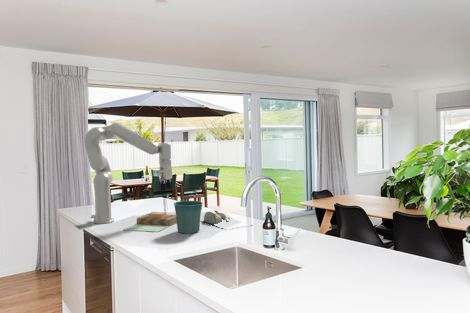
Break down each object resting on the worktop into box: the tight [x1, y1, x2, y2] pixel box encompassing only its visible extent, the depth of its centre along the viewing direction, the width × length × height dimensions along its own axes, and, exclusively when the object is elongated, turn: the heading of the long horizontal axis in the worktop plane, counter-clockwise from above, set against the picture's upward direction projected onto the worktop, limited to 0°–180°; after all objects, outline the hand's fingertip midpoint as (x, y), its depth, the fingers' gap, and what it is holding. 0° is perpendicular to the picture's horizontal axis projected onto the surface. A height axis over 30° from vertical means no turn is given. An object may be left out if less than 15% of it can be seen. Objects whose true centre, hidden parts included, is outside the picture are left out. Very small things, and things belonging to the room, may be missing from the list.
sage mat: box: [123, 223, 170, 233], centre depth 223 cm, size 22×14×1 cm, turn 74°
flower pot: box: [173, 200, 204, 235], centre depth 214 cm, size 16×16×16 cm
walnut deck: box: [136, 213, 177, 227], centre depth 237 cm, size 22×14×4 cm, turn 74°
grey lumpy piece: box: [200, 209, 230, 227], centre depth 235 cm, size 33×8×20 cm
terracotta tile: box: [148, 211, 167, 218], centre depth 236 cm, size 9×6×2 cm, turn 74°
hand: (165, 189), depth 247 cm, fingers open, 6 cm apart
